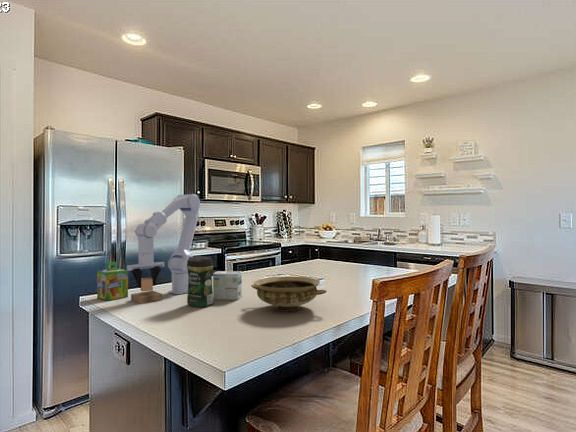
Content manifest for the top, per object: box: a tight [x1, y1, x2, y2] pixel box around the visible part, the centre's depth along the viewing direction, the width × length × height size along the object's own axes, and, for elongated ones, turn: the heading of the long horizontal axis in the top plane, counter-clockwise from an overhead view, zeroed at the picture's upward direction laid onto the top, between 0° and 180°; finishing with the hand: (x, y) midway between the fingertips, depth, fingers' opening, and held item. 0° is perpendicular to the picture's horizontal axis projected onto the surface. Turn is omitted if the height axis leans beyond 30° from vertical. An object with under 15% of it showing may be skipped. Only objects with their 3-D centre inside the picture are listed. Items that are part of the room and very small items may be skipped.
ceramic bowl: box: [251, 276, 327, 312], centre depth 132 cm, size 30×24×10 cm
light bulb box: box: [212, 270, 243, 301], centre depth 150 cm, size 11×7×11 cm, turn 84°
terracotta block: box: [139, 277, 154, 292], centre depth 147 cm, size 4×4×4 cm
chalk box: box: [96, 261, 129, 301], centre depth 153 cm, size 9×9×15 cm
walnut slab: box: [130, 290, 163, 305], centre depth 148 cm, size 9×9×3 cm
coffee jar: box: [186, 255, 214, 308], centre depth 139 cm, size 10×8×19 cm
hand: (146, 286), depth 148 cm, fingers closed on terracotta block, 5 cm apart
